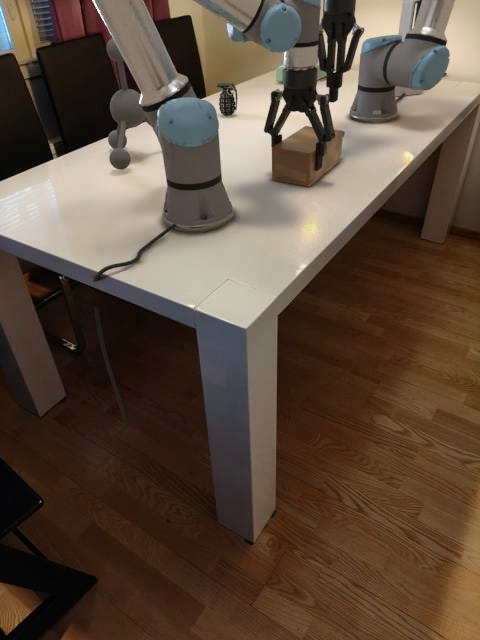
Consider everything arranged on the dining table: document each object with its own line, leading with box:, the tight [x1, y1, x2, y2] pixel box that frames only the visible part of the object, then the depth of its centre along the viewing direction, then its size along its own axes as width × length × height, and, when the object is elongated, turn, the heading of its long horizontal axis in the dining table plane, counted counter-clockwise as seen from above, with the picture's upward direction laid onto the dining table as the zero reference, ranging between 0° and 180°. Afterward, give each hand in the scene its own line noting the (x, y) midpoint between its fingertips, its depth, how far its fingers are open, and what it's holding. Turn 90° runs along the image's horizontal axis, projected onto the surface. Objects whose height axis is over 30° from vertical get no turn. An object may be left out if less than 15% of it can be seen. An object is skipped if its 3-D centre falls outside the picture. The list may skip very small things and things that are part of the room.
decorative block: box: [275, 60, 327, 82], centre depth 206 cm, size 26×6×20 cm
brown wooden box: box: [271, 125, 343, 188], centre depth 124 cm, size 19×10×8 cm, turn 148°
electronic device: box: [395, 0, 423, 98], centre depth 172 cm, size 12×8×30 cm, turn 105°
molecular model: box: [106, 37, 152, 171], centre depth 132 cm, size 24×22×30 cm
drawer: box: [340, 130, 345, 157], centre depth 128 cm, size 24×9×6 cm, turn 148°
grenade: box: [215, 82, 238, 117], centre depth 166 cm, size 7×6×10 cm
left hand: (297, 165), depth 121 cm, fingers closed on brown wooden box, 10 cm apart
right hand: (333, 100), depth 127 cm, fingers closed
